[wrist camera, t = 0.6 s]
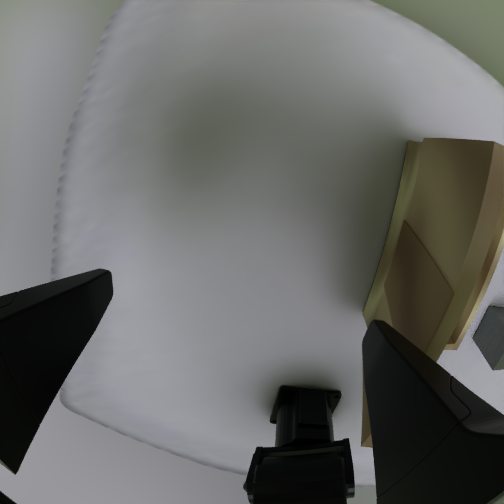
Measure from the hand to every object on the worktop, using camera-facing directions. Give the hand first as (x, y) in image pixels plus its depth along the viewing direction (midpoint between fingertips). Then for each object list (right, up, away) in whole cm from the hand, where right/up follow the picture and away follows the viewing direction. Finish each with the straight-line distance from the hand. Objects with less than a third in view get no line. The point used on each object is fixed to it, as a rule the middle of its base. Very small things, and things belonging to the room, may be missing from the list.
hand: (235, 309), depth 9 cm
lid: (+9, 0, +3) cm, 9 cm away
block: (+25, -6, +13) cm, 29 cm away
